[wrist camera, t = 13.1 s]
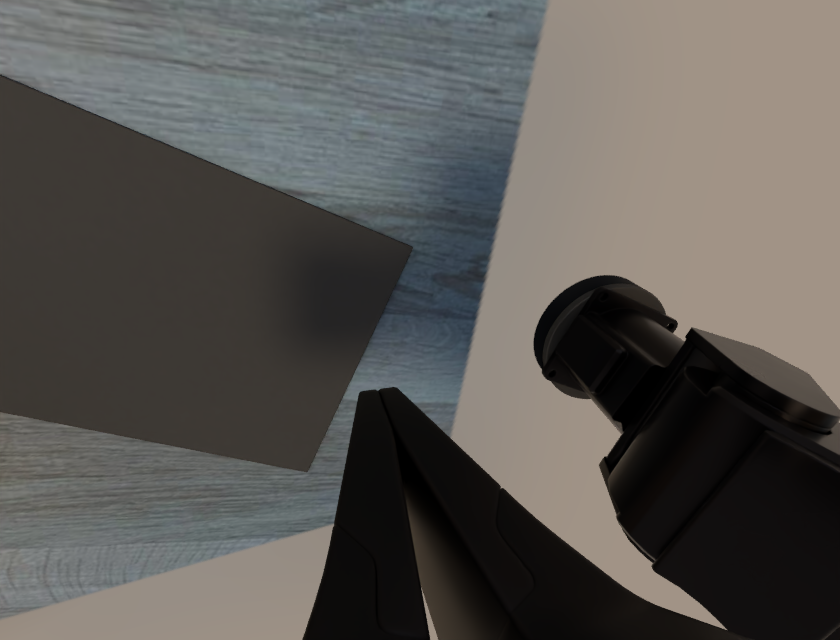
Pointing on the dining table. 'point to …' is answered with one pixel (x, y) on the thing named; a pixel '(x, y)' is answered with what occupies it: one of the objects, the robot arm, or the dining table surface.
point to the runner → (173, 291)
